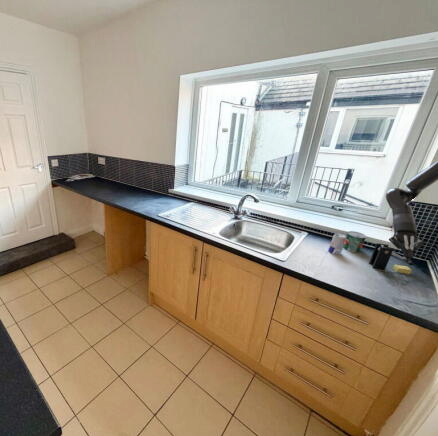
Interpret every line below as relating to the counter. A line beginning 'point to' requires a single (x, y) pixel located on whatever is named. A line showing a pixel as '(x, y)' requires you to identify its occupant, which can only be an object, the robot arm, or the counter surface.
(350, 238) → the canned tomato
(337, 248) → the energy drink
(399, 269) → the butter
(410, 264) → the blade
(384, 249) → the slicer
